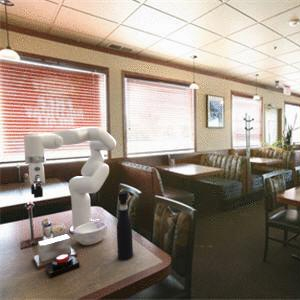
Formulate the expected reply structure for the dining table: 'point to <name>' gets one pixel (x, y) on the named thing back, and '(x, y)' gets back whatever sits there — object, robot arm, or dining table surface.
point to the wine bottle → (124, 229)
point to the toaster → (54, 247)
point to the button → (62, 258)
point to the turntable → (49, 261)
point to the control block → (62, 266)
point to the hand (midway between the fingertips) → (37, 195)
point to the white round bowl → (90, 233)
